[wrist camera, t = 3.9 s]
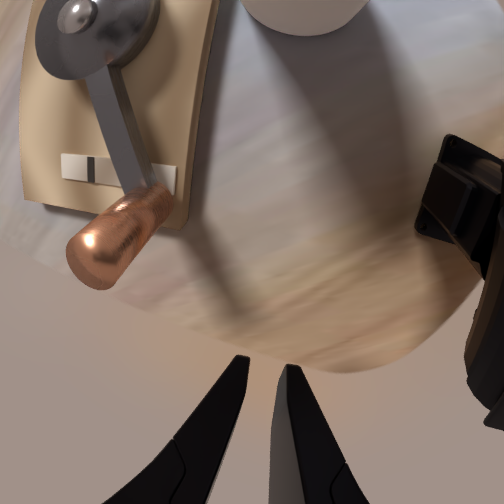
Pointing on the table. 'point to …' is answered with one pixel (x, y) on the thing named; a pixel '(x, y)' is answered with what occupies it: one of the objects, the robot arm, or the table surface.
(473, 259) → the robot arm
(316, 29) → the can
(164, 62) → the stand
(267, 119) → the table surface
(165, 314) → the table surface
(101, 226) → the lever
